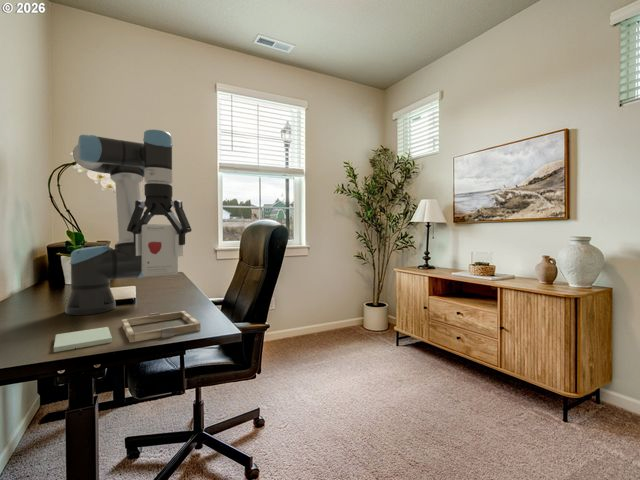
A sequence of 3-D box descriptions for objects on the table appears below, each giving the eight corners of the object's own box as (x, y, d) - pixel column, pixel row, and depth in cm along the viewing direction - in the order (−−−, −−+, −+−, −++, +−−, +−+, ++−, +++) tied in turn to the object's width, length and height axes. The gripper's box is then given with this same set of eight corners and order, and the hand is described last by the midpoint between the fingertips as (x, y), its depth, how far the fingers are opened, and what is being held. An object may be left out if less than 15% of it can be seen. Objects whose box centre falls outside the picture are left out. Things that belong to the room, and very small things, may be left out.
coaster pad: (56, 338, 90) (55, 334, 90) (108, 330, 97) (108, 326, 97) (53, 352, 80) (53, 347, 80) (111, 342, 87) (111, 337, 87)
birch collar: (121, 325, 103) (121, 317, 102) (183, 315, 113) (183, 309, 113) (130, 343, 86) (130, 334, 86) (201, 330, 97) (201, 322, 97)
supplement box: (144, 277, 93) (143, 224, 93) (141, 273, 101) (140, 224, 100) (178, 274, 98) (178, 224, 98) (173, 271, 106) (172, 224, 105)
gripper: (112, 182, 96) (113, 256, 97) (189, 181, 93) (190, 257, 94) (130, 185, 104) (131, 253, 105) (203, 185, 100) (203, 255, 101)
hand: (159, 255), depth 99 cm, fingers closed on supplement box, 12 cm apart
